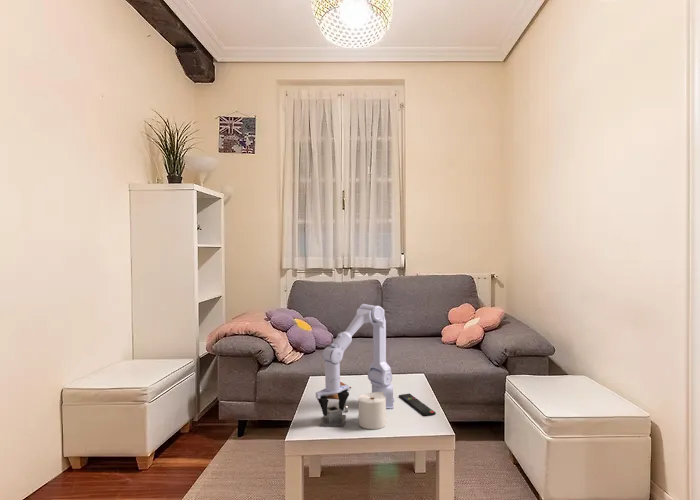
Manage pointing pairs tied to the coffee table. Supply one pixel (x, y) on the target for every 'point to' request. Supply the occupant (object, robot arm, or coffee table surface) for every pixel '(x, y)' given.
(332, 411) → the grey stepped block
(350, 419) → the coffee table surface
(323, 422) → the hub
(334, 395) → the sunglasses case
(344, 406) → the stand rod
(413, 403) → the remote control
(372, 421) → the toilet tissue
